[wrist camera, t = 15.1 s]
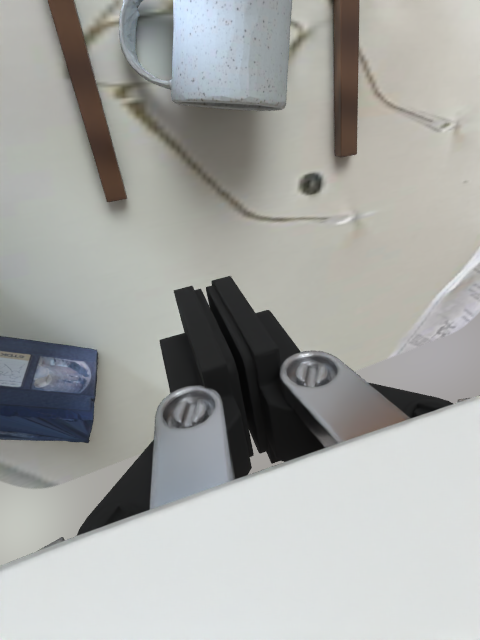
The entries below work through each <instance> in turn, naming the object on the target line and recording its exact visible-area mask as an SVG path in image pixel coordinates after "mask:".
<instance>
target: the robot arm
mask: <svg viewBox="0 0 480 640" xmlns="http://www.w3.org/2000/svg"><path fill="white" fill-rule="evenodd" d="M206 291H207V296H208V301H209V305H210V307H209V305H208V303H207V301H206V299H205V297H204V294H203V292H202V290H201V289H198V290H194V289H193V286H189V287H186V288H182V289H178V290H174V294H175V298H176V302H177V305H178V309H179V313H180V317H181V321H182V324H183V328H184V332H185V333H183V334H179V335H176V336H172V337H169V338H165V339H161V340H160V346H161V350H162V355H163V360H164V365H165V369H166V374H167V379H168V383H169V388H170V393H171V394H169V395H168V396H167V397H166V398H164V399H163V400H162V402H161V403H160V405H159V406H158V408H157V411H156V415H155V431H154V440H153V441H152V442H151V444H150V445H149V446H148V447H147V448H146V449H145V451H144V452H143V453H142V454H141V455H140V456H139V458H138V459H137V460H136V461H135V462H134V464H133V465H132V466H131V467H130V468H129V469H128V470H127V472H126V473H125V474H124V475H123V476H122V478H121V479H120V480H119V481H118V482H117V483H116V485H115V486H114V487H113V488H112V489H111V491H110V492H109V493H108V494H107V495H106V496H105V497H104V499H103V500H102V501H101V502H100V503H99V504H98V506H97V507H96V508H95V509H94V510H93V511H92V513H91V514H90V515H89V516H88V517H87V519H86V520H85V522H84V523H83V525H82V526H81V527H80V529H79V532H78V534H77V536H75V537H73V538H70V539H67V540H64V538H63V537H61V538H60V539H58V540H56V541H54V542H52V543H51V544H49V545H47V546H45V547H44V548H42V549H40V550H38V551H36V552H34V553H31V554H29V555H26V556H24V557H21V558H19V559H16V560H14V561H11V562H9V563H6V564H4V565H1V566H0V640H480V395H479V396H476V397H473V398H466V399H459V400H458V402H457V403H455V404H453V403H451V402H449V401H446V400H443V399H440V398H436V397H432V396H427V395H423V394H418V393H414V392H409V391H404V390H400V389H395V388H391V387H386V386H381V385H377V384H371V383H367V382H366V381H365V380H364V379H362V378H361V377H360V376H359V375H358V374H356V373H355V372H354V371H353V370H352V369H350V368H349V367H348V366H347V365H346V364H344V363H343V362H342V361H341V360H339V359H338V358H337V357H335V356H333V355H332V354H329V353H326V352H322V351H303V352H300V350H299V349H298V348H297V346H296V345H295V344H294V342H293V341H292V340H291V338H290V337H289V336H288V334H287V333H286V332H285V330H284V329H283V328H282V326H281V325H280V324H279V322H278V321H277V320H276V318H275V317H274V316H273V314H272V313H271V312H270V311H269V310H266V311H262V312H258V313H255V312H254V310H253V309H252V307H251V306H250V304H249V303H248V301H247V300H246V299H245V297H244V296H243V294H242V293H241V291H240V290H239V288H238V287H237V285H236V284H235V282H234V281H233V279H232V278H231V276H228V277H224V278H220V279H216V280H213V281H212V286H209V287H206ZM249 431H250V433H251V435H252V438H253V440H254V443H255V445H256V447H257V450H258V452H259V453H263V452H265V451H266V452H267V454H268V456H269V459H270V461H271V463H275V462H278V461H284V463H281V464H278V465H275V466H272V467H270V468H267V469H264V470H261V471H258V472H255V473H252V474H249V475H248V473H249V471H250V470H251V468H252V467H251V462H250V457H251V456H253V449H252V444H251V439H250V433H249Z"/></svg>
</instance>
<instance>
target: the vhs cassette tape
mask: <svg viewBox="0 0 480 640" xmlns="http://www.w3.org/2000/svg"><path fill="white" fill-rule="evenodd" d="M97 360H98V352H97V350H94V349H89V348H81V347H75V346H69V345H61V344H53V343H46V342H39V341H32V340H24V339H16V338H9V337H1V336H0V439H1V440H33V441H69V442H85V443H89V437H90V433H91V430H92V425H93V419H94V401H95V396H96V384H97V365H98V361H97Z"/></svg>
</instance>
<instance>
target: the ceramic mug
mask: <svg viewBox="0 0 480 640" xmlns="http://www.w3.org/2000/svg"><path fill="white" fill-rule="evenodd" d="M142 1H143V0H124V2H123V5H122V9H121V13H120V20H119V37H120V43H121V48H122V51H123V53H124V56H125V58H126V60H127V61H128V63H129V64H130V65H131V66H132V68H133V69H134V70H135V71H136V72H137V73H138V74H139V75H140V76H142V77H143V78H145V79H146V80H148V81H150V82H152V83H153V84H156V85H159V86H162V87H165V88H168V89H171V97H172V101H173V102H174V103H177V104H182V105H189V106H196V107H209V108H219V109H235V110H256V111H265V110H266V111H271V110H282V109H284V108H285V106H286V93H287V73H288V60H289V40H290V23H291V10H292V0H173V4H174V33H173V52H172V79H171V80H169V81H165V80H162V79H159V78H157V77H155V76H153V75H152V74H150V73H149V72H147V71H146V70H145V69H144V68H143V67H142V66H141V64H140V63H139V62H138V59H137V54H136V52H135V44H136V25H137V20H138V18H139V16H140V15H139V10H138V7H139V5H140V3H141V2H142Z"/></svg>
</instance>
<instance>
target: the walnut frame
mask: <svg viewBox="0 0 480 640" xmlns="http://www.w3.org/2000/svg"><path fill="white" fill-rule="evenodd" d="M48 4H49V7H50V10H51V14H52V17H53V21H54V24H55V27H56V31H57V34H58V37H59V41H60V44H61V48H62V51H63V54H64V58H65V61H66V64H67V68H68V71H69V75H70V78H71V81H72V85H73V88H74V91H75V95H76V98H77V102H78V105H79V108H80V112H81V115H82V118H83V122H84V125H85V129H86V132H87V135H88V139H89V142H90V145H91V149H92V152H93V156H94V159H95V162H96V166H97V169H98V172H99V176H100V179H101V183H102V186H103V189H104V193H105V196H106V199H107V202H112V201H117V200H122V199H126V198H127V195H126V191H125V188H124V184H123V180H122V177H121V173H120V169H119V165H118V162H117V158H116V154H115V151H114V147H113V143H112V140H111V136H110V132H109V128H108V125H107V121H106V117H105V114H104V110H103V106H102V102H101V99H100V95H99V91H98V88H97V84H96V80H95V76H94V73H93V69H92V65H91V62H90V58H89V54H88V51H87V47H86V43H85V39H84V36H83V32H82V28H81V25H80V21H79V17H78V13H77V10H76V6H75V2H74V0H48ZM333 4H334V116H335V156H339V157H345V156H351V155H356V154H357V109H358V50H359V0H333Z"/></svg>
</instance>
